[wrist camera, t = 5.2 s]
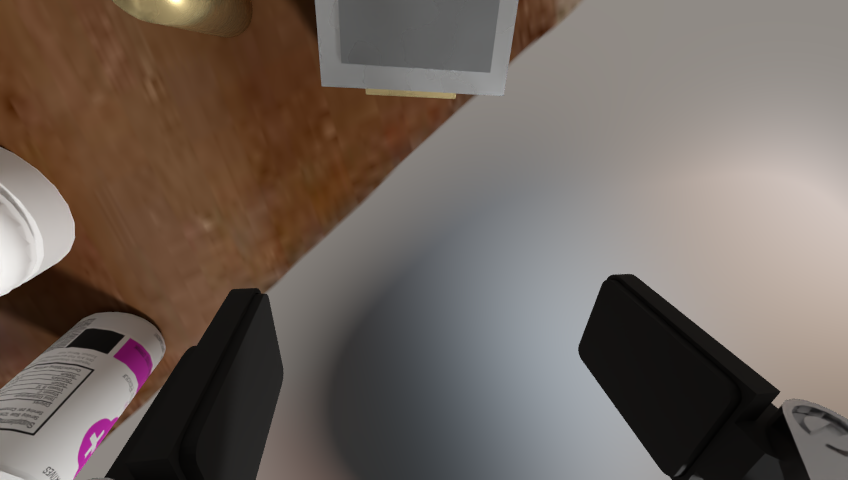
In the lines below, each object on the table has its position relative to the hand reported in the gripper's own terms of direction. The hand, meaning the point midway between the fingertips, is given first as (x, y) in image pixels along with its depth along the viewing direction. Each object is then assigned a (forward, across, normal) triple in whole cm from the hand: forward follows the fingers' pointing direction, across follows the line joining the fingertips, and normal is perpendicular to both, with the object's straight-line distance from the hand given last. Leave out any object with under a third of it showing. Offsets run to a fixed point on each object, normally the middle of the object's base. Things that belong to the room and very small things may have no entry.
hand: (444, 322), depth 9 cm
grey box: (+24, 0, -9) cm, 25 cm away
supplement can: (+24, +29, +21) cm, 43 cm away
